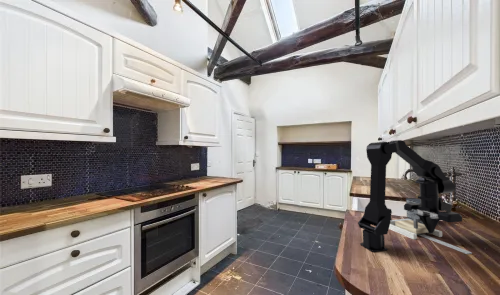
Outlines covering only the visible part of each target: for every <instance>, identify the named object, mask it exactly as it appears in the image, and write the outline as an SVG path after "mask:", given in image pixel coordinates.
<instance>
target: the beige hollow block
mask: <svg viewBox="0 0 500 295" xmlns="http://www.w3.org/2000/svg"><path fill="white" fill-rule="evenodd" d="M418 221H421V219H420V218H413V220H412V221H411V220H404V221H395V226H398V227H400V228H403V229H405V230H408V231H411V232H413V233H415V234H417V236H419V235H418V233H422V234H425V235H431V234H430V233H429V232H428V230H427V228H426V227H425V225H424V224H421V223H419V222H418Z"/></svg>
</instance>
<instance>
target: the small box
mask: <svg viewBox="0 0 500 295" xmlns="http://www.w3.org/2000/svg"><path fill="white" fill-rule="evenodd" d="M406 203H417V204H420V199H418V198H408V197H407V198H405V204H406ZM433 213H434V212H433ZM416 214H418V211H417V210H414V209H412V210H411V211H407V210H406V218H407V217H408V218H407V219H412V221H413V218H419V216H418V215H416ZM418 223H420V224H423V225H424V223H423V222H422V221H418Z"/></svg>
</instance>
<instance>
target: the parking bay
mask: <svg viewBox="0 0 500 295" xmlns="http://www.w3.org/2000/svg"><path fill="white" fill-rule="evenodd" d="M404 220H411V221H413V220H412V219H409V218H400V219H392V221H391V220H390V225H389V229H388V230H391V231H393V232H394V233H398V234H400V235H402V236H405V237H407V238H409V239H411V240H418V236H420V237H422V238H425V239H426V240H430V241H433V242H435V243H438V244H439V245H442V246H445V247H448V248H450V249H453V250H455V251H458V252H461V253H463V254H466V255H472V254H473V252H471V251H469V250H466V249H464V248H461V247H458V246H456V245H453V244H451V243H448V242H445V241H443V240H440V239H437V238H435V237H432V236H430V235H434V236H436V237H439V238H441V237H443V231H442V230H438V229H436V228H435V230H434V232H433V233H430V234H429V235H428V234H425V233H418V235H417V234H415V233H413V232H411V231H408V230H405V229H403V228H400V227H398V226H395V221H404Z"/></svg>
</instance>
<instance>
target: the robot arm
mask: <svg viewBox="0 0 500 295" xmlns="http://www.w3.org/2000/svg"><path fill="white" fill-rule="evenodd" d="M365 152H366V157H367V160H368V162H369V163H370V183H369V188H370V189H369V190H370V191H369V202H368V204H367V205H366V206H365V208H364V213H363V215H362V217H361V218H360V219H359V221H358V222H357V225H358V227H359V228H360V229H362V242H361V243H359V244H360V245H361V246H362V247H364V248H365V249H367V250H369V251H370V252H372V253H375V252H383V251H388V248H387V247H386V246H385V235H388V233H389V230H390V229H389V225H390V220H391V221H392V220H393V218H392V214H393V212H392V209H391V208H388V206H387V205H386V184H387V182H386V181H387V165H388V164H389V162H390V161H391V160H392V155H393V154H394V153H395V154H396V155H397V156H399V157H400V158H401V160H404V161H405V162H406V163H407V164H409V165H410V166H411V167H412V171H413V172H414V174H416V176H418V177H419V178H418V179H416V180H415V184H419V195H418V196H417V199H420V204H417V203H406V202H405V204H404V205H403V210H404V211H406V212H407V211H411V210H412V209H414V210H417V211H418V214H416V215H418V216H419V218H420V219H421V221H422V222H423V223H424V224H423V225H425V227H426V228H427V230H428V232H429V233H433V232H434V230H435V229H436V228H437V226H438V223H439V222H440V221H443V222H447V223H460V222H463V216H462V215H461V214H460V213H458V212H453V211H452V207H453V204H451V203H449V202H446V201H443V198H442V197H439V195H440V194H441V195H442V194H450V193H453V192H455V191H456V185H455V183H454V182H453V181H452V180H451V179H450V176H446V175H445V173H444V172H443V170H442V169H441V167H440V165H439V164H437V163H436V162H433V161H431V160H429V159H425V158H424V157H422V156H421V155H419V154H418V153H417V152H416V151H415V150H413V149H412V148H411V147H410V146H408V145H407V144H406V142H405V141H404V140H402V139H396V140H391V141H379V142H370V143H369V144H368V145H367V146H366V150H365ZM433 212H434V213H433Z"/></svg>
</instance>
